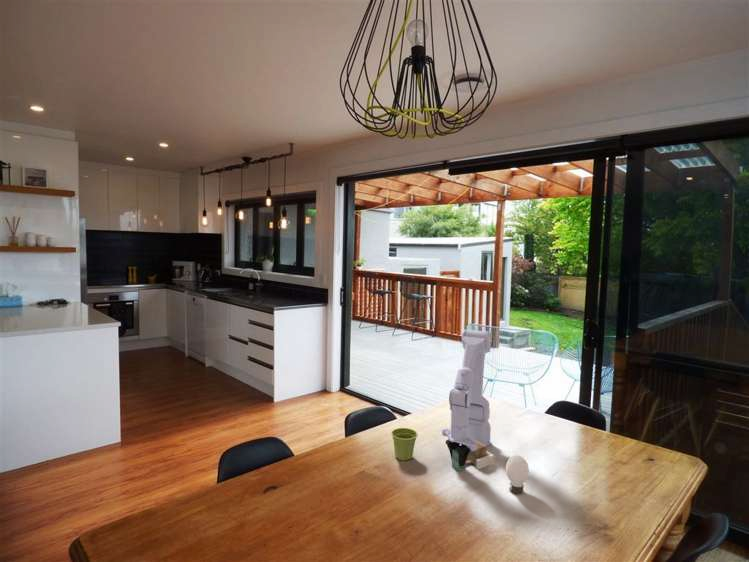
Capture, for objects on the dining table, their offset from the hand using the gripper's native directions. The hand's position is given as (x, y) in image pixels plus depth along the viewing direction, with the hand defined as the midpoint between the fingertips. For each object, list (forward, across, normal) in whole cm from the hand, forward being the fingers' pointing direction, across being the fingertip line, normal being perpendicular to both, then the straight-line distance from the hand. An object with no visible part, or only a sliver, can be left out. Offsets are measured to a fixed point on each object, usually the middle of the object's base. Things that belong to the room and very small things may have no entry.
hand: (458, 463), depth 149 cm
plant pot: (+2, -16, -11) cm, 19 cm away
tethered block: (+2, 0, +5) cm, 5 cm away
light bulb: (+2, +20, +5) cm, 21 cm away
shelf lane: (+2, 0, +9) cm, 9 cm away
